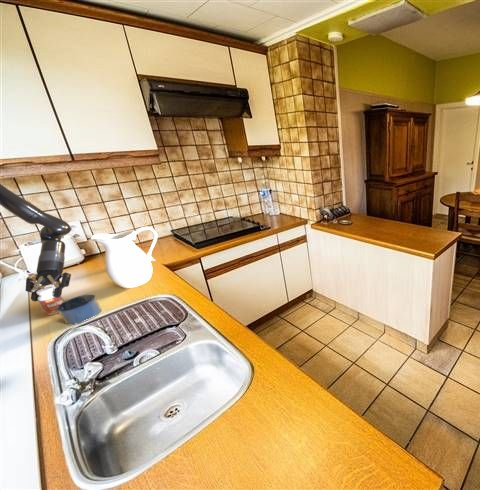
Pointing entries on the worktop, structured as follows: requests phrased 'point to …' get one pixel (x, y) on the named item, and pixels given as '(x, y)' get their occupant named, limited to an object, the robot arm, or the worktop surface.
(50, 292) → the pill bottle
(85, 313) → the crock
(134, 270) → the pitcher
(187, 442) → the worktop surface
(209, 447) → the worktop surface
